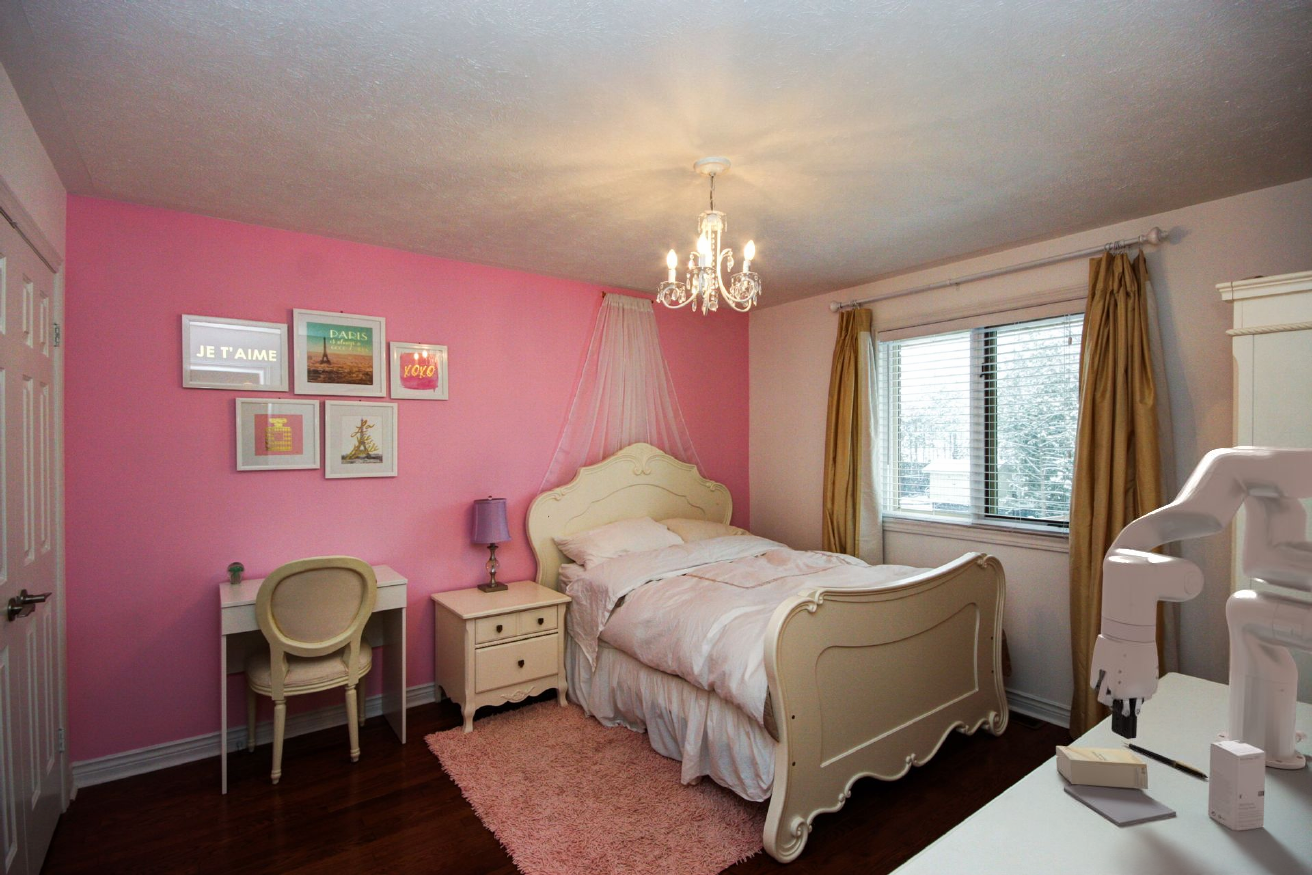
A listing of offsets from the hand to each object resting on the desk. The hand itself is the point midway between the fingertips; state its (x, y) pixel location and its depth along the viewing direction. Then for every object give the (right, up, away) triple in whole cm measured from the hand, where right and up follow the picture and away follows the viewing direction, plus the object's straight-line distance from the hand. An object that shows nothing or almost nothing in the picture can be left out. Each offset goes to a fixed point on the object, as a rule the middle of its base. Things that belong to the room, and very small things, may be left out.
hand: (1123, 734), depth 110 cm
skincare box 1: (+5, -7, +3) cm, 9 cm away
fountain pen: (+15, -11, +11) cm, 22 cm away
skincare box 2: (+13, -11, -7) cm, 18 cm away
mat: (-3, -10, -2) cm, 11 cm away
